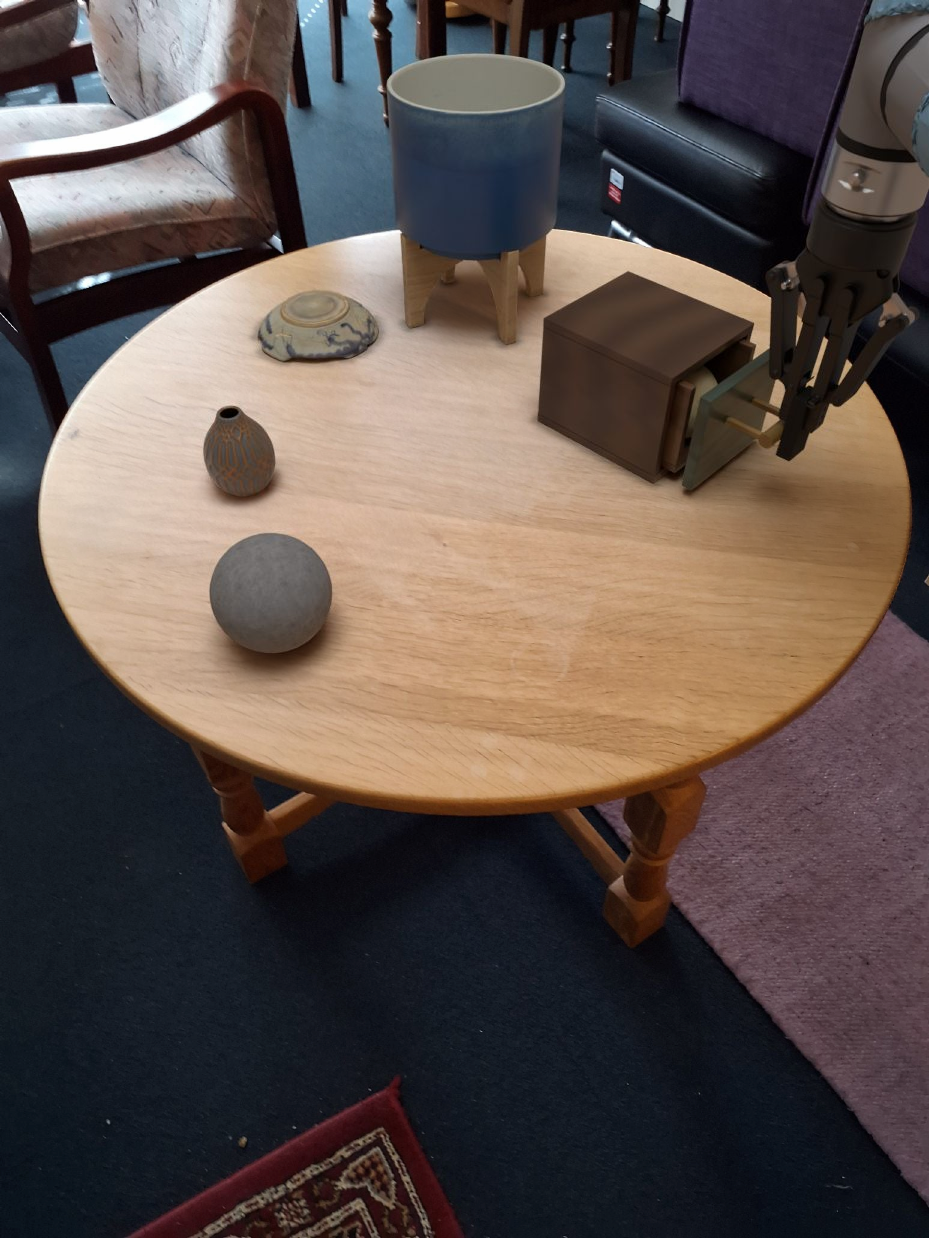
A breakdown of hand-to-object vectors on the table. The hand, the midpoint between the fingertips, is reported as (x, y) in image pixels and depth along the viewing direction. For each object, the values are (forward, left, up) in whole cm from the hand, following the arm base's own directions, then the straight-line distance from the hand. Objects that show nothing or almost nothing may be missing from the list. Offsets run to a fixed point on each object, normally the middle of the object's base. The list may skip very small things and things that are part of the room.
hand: (789, 452), depth 86 cm
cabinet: (+18, 0, -5) cm, 19 cm away
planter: (+48, -6, -6) cm, 49 cm away
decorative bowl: (+58, +12, -6) cm, 59 cm away
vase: (+40, +36, -6) cm, 54 cm away
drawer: (+11, 0, -4) cm, 12 cm away
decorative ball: (+21, +46, -6) cm, 51 cm away
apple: (+13, 0, -4) cm, 13 cm away
